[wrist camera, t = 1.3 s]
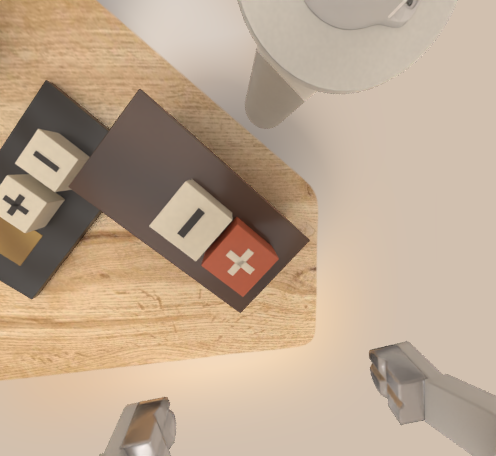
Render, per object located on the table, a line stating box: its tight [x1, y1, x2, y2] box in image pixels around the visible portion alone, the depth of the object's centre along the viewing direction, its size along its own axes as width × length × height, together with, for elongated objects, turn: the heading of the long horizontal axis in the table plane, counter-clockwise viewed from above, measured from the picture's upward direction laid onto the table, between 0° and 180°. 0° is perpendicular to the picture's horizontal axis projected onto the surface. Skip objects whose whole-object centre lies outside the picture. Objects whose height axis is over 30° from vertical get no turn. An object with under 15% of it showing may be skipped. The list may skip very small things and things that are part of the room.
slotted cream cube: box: [149, 179, 232, 261], centre depth 20 cm, size 4×4×3 cm
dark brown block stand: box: [68, 89, 309, 313], centre depth 26 cm, size 10×19×10 cm, turn 49°
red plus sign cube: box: [201, 217, 279, 297], centre depth 21 cm, size 4×4×3 cm
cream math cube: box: [0, 174, 65, 233], centre depth 27 cm, size 4×4×3 cm
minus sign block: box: [15, 129, 89, 192], centre depth 26 cm, size 4×4×3 cm
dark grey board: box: [0, 80, 109, 299], centre depth 29 cm, size 24×12×1 cm, turn 139°
